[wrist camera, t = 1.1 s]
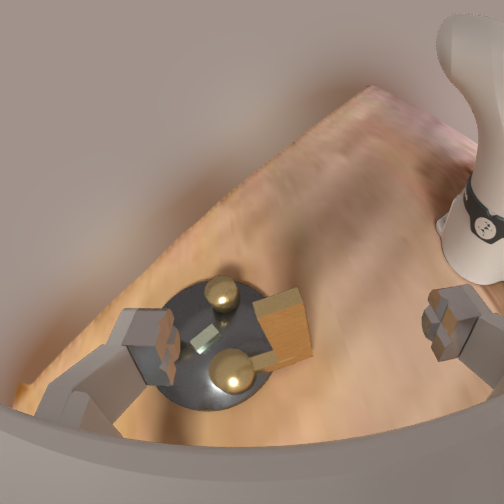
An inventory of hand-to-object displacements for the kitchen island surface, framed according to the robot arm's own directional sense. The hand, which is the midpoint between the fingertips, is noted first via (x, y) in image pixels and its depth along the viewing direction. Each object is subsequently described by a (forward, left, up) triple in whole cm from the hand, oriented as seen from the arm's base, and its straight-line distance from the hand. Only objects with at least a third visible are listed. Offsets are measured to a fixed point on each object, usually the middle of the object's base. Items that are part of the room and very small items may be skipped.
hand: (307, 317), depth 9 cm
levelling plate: (+4, -21, -34) cm, 40 cm away
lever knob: (+1, -12, -33) cm, 35 cm away
